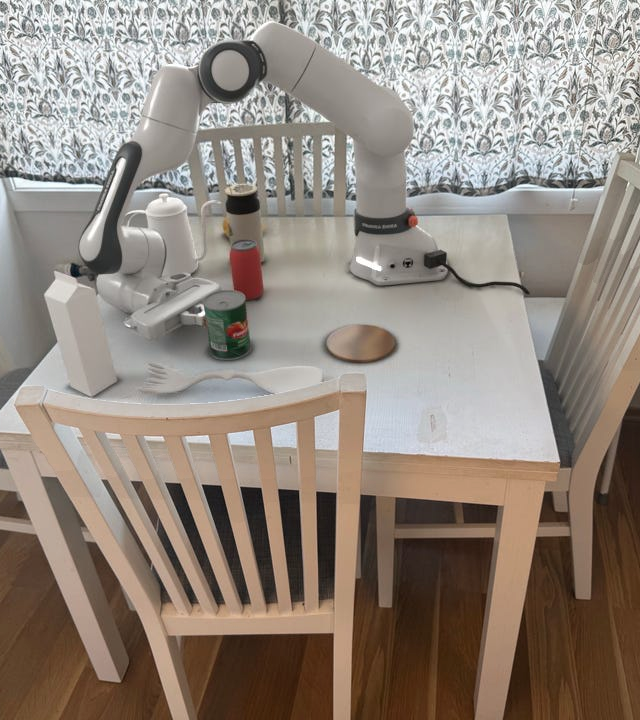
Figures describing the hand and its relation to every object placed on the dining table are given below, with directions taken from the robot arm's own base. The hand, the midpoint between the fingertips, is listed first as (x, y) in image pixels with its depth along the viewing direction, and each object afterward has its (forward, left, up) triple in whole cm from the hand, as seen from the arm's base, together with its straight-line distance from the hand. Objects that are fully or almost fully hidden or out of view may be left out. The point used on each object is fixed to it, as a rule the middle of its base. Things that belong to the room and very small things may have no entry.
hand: (207, 319), depth 131 cm
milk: (+19, +15, -5) cm, 24 cm away
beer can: (-4, -20, -5) cm, 22 cm away
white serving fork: (-7, +16, -5) cm, 18 cm away
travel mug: (-1, -38, -5) cm, 39 cm away
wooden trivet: (-29, +1, -5) cm, 30 cm away
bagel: (+3, -55, -5) cm, 56 cm away
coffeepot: (+15, -33, -5) cm, 37 cm away
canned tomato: (-4, +3, -5) cm, 8 cm away
